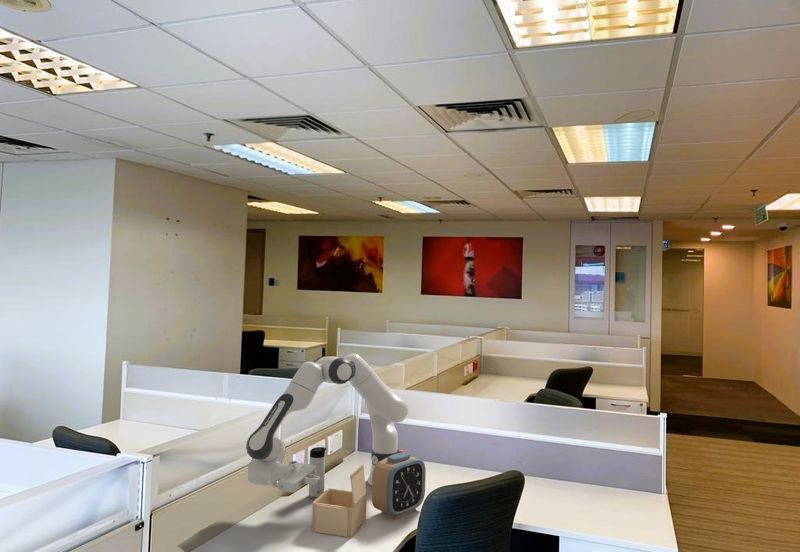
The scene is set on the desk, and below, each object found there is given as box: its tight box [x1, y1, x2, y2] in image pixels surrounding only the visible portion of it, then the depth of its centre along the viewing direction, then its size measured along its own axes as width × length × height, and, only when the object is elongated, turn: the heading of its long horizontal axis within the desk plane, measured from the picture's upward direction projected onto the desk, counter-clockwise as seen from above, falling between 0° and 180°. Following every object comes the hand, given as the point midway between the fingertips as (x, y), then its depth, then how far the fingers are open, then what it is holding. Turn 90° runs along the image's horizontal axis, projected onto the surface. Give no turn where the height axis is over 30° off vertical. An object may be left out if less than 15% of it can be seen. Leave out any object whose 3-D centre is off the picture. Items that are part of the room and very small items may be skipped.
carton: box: [311, 488, 368, 539], centre depth 206 cm, size 16×16×10 cm
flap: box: [349, 464, 367, 505], centre depth 204 cm, size 1×12×10 cm, turn 164°
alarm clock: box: [371, 451, 427, 520], centre depth 219 cm, size 21×10×22 cm, turn 137°
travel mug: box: [308, 446, 327, 500], centre depth 233 cm, size 6×7×20 cm
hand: (318, 480), depth 208 cm, fingers closed
